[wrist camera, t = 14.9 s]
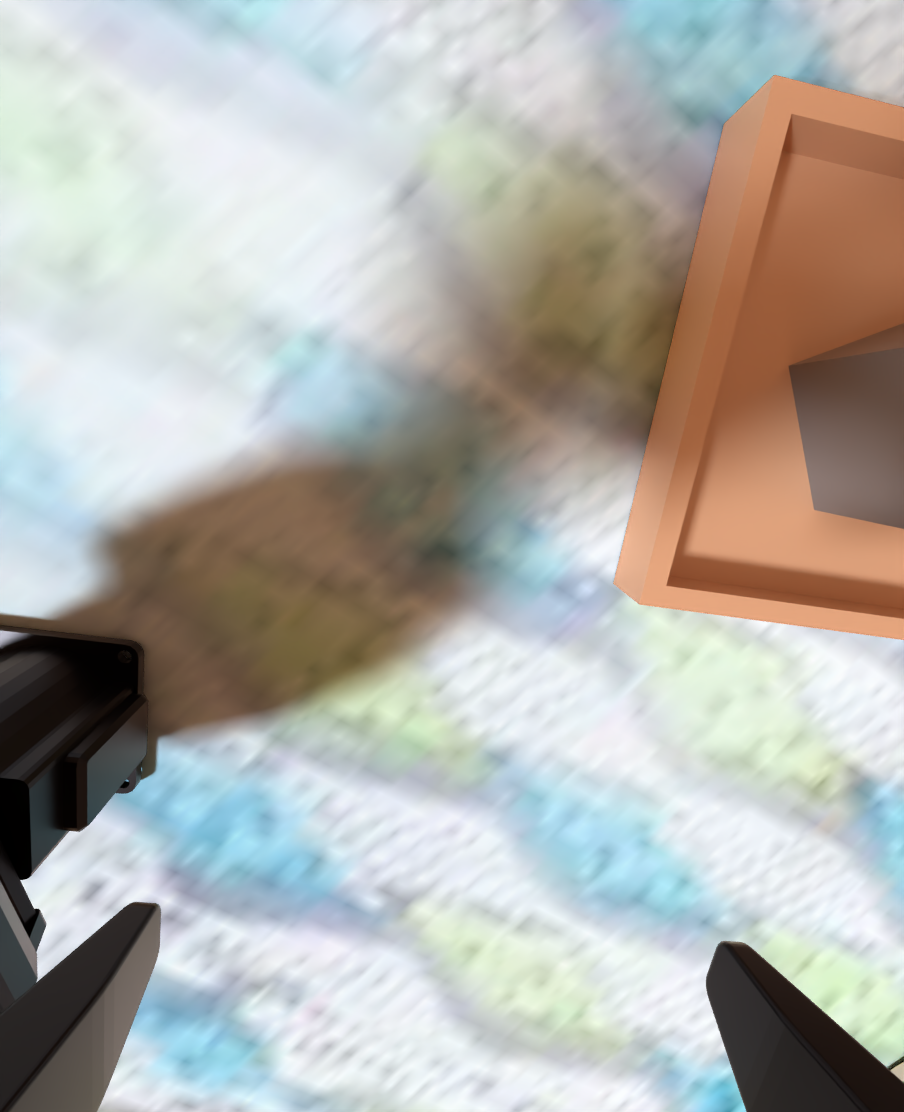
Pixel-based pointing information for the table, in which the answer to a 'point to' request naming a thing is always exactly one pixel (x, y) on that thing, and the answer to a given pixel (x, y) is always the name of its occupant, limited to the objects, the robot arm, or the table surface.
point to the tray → (773, 371)
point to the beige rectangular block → (855, 427)
